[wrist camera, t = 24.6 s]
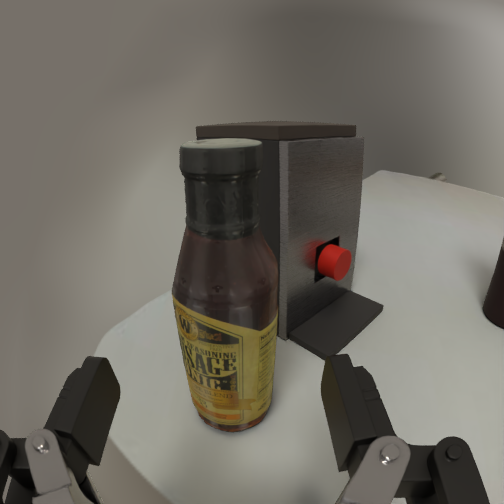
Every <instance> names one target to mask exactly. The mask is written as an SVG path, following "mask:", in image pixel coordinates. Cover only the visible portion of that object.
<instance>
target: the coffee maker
mask: <svg viewBox="0 0 504 504" xmlns="http://www.w3.org/2000/svg"><path fill="white" fill-rule="evenodd" d="M196 135H197V140H205V139H222V138H236V139H251V140H257V141H260V142H262V143H263V166H262V169H261V171H260V173H259V205H258V212H259V214H260V216H261V218H260V221H259V225H260V230H261V231H262V234H263V236H264V240H265V241H266V243H267V245H268V246H269V247H270V249H271V250H272V252H273V254H274V256H275V257H276V260H277V262H278V290H277V304H278V318H277V335H278V336H279V337H281V338H282V339H284V340H287V339H288V338H289V339H291V340H292V341H294V342H296V343H297V344H299V345H301V346H302V347H304V348H306V349H307V350H309V351H311V352H312V353H314V354H316V355H317V356H319V357H321V358H322V359H324V360H326V357H327V356H331V355H336V354H337V353H338V352H339V351H340V350H341V349H342V348H344V347H345V346H346V345H347V344H348V343H349V342H350V341H351V340H352V339H353V338H355V337H356V336H357V335H358V334H359V333H360V332H361V331H362V330H363V329H364V328H365V327H366V326H367V325H368V324H369V323H370V322H371V321H372V320H373V319H374V318H375V317H377V316H378V315H379V314H380V313H381V312H382V310H383V305H381V304H379V303H377V302H375V301H372V300H370V299H368V298H366V297H363V296H361V295H359V294H357V293H354V292H352V291H351V286H352V279H353V271H354V264H355V256H356V247H357V238H358V228H359V217H360V206H361V192H362V176H363V155H364V137H358V136H356V125H346V124H332V123H315V122H289V121H267V122H246V123H231V124H217V125H207V126H197V127H196ZM329 244H333V245H336V246H338V247H341V248H344V249H347V250H349V251H350V252H351V265H350V268H349V270H348V272H347V274H346V275H345V277H344V278H343V279H341V280H339V281H336V280H334V279H332V278H329V277H327V276H325V275H322V274H320V273H319V271H318V259H319V256H320V254H321V252H322V250H323V249H324V248H325V247H326V246H327V245H329Z"/></svg>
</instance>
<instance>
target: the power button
mask: <svg viewBox="0 0 504 504" xmlns="http://www.w3.org/2000/svg"><path fill="white" fill-rule="evenodd" d="M350 265H351V252H350V251H349V250H347V249H344V248H341V247H338V246H336V245H333V244H329V245H327V246H326V247H325V248H324V249H323V250H322V252H321V254H320V256H319V259H318V271H319V273H320V274H322V275H325V276H327V277H329V278H332V279H334V280H336V281H339V280H341V279H343V278H344V277H345V275H346V274H347V272H348V270H349V268H350Z"/></svg>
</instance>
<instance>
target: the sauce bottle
mask: <svg viewBox="0 0 504 504" xmlns="http://www.w3.org/2000/svg"><path fill="white" fill-rule="evenodd" d="M262 166H263V143H262V142H260V141H257V140H251V139H236V138H222V139H205V140H197V141H191V142H186V143H184V144H182V146H181V147H180V170H181V172H182V175H183V176H184V177H185V181H184V183H185V195H186V213H187V216H186V229H185V232H184V237H183V241H182V246H181V250H180V254H179V259H178V263H177V268H176V273H175V277H174V282H173V288H172V297H173V305H174V310H175V317H176V322H177V328H178V334H179V339H180V346H181V349H182V355H183V361H184V366H185V369H186V374H187V379H188V384H189V388H190V392H191V397H192V401H193V404H194V406H195V407H196V409H197V410H198V413H199V416H200V417H201V418H202V419H203V420H204V422H205V423H206V424H208V425H210V426H212V427H214V428H216V429H220V430H225V431H228V432H237V431H242V430H244V429H247V428H250V427H252V426H255V425H256V424H257V423H259V422H260V421H261V420H262V419H263V417H264V416H265V415H266V412H267V410H268V407H269V405H270V402H271V397H272V387H273V375H274V363H275V349H276V336H277V318H278V304H277V290H278V262H277V260H276V257H275V256H274V254H273V252H272V250H271V249H270V247H269V246H268V245H267V243H266V241H265V240H264V236H263V234H262V231H261V230H260V225H259V221H260V218H261V216H260V214H259V212H258V205H259V173H260V171H261V169H262Z"/></svg>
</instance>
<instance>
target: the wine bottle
mask: <svg viewBox="0 0 504 504" xmlns="http://www.w3.org/2000/svg"><path fill="white" fill-rule="evenodd" d="M483 309H484V312H485V314H486V316H487V317H488V318H489V319H490V320H491V321H492V322H493V323H495V324H496V325H498V326H500V327H503V328H504V238H503V242H502V246H501V250H500V254H499V257H498V261H497V264H496V268H495V271H494V274H493V277H492V280H491V283H490V286H489V289H488V292H487V295H486V298H485V301H484V306H483Z"/></svg>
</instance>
